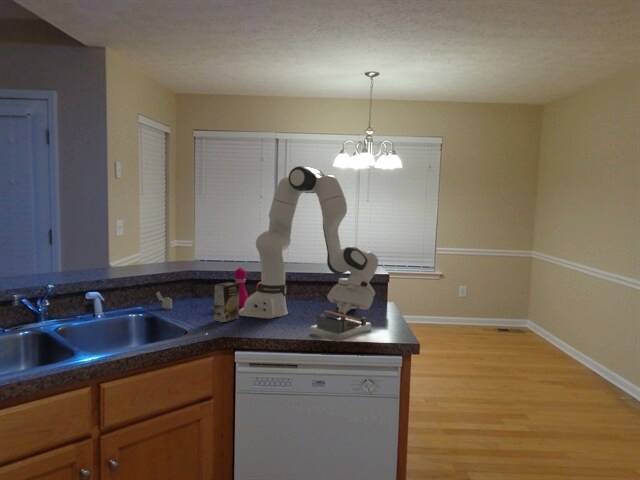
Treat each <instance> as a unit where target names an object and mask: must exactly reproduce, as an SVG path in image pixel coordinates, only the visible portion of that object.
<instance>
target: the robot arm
mask: <svg viewBox="0 0 640 480" xmlns="http://www.w3.org/2000/svg"><path fill="white" fill-rule="evenodd" d="M303 193H305V194H316V196H317V200H318V203H319V205H320V210H321V214H322V215H321V216H322V230H323V236H324V240H325V245H326V246H325V247H326V250H327V257H326V258H327V260H326V264H327V267H328V269H329V271H330V272H331V273H332V274H335V275H343V274H345V273H346V272H350V275H349V276H348V277H347V278H348V280H347V282H346V283H345V284H342V283H339V282H338V283H339V284H338V283H336V284H335V285H334V286H333V287H332V288H331V289H330V291H329V292H328V293H327V299H328V301H329V302H330V303H334V304H337V303H338V304H339V307H338V310H337V313H340V314H346V315H347V313H348V312H350V311H351V310H352V309H351V308H352V307H356V309H361V310H366V311H367V310H369V309H370V308H371V306H372V304H373V301H374V297H375V295H376V292H375V289H374V288H373V286H372V285H371V283H370V281H371V279H372V278H373V277H374V276H375V274H376V272H377V269H378V266H379V259H378V257H377V256H376V254H374V253H373V252H371V251H368V250H367V251H364V250H361V249H359V248H358V247H356V246H354V245H350V246H346V247H344V248H342V247H341V242H340V236H339V228H340V225H341V223H342V221H343V219H344V218H345V217H346V214H347V212H348V207H347V206H348V204H347V201H346V198H345V195H344V191H343V189H342V187H341V184H340V182H339V180H338V179H337V178H336V176H334V175H330V174H327V175H325V174H324V173H323V172H322V170H318V169H316V168H314V167H310V166H309V167H308V166H303V165H302V166H301V165H300V166H295V167H294V168H292V169H291V170H290V172H289V174H288V177H287V176H286V177H282V179H280V180H279V182H278V185H277V187H276V189H275V192H274V194H273V198H272V202H271V206H270V210H269V212H268V216H269V217H268V218H269V225H268V230H266V231H264V232H262V233H260V234H259V235H258V236H257V238H256V240H255V248H256V249H257V252H258V255H259V261H260V267H261V268H260V269H261V270H260V272H261V273H260V275H261V277H260V280H261V281H259V282H258V283H257V284H256V291H255V292H253V293H252V294H251V295H249V296H248V298H247V299H246V301H245V304H244V307H241V308H239V316H241V317H250V318H252V317H253V318H261V319H273V318H279V317H284V316H286V315H288V313H289V312H288V307H287V303H286V295H287V283H286V266H285V263H284V258H283V252H285V251H286V250H287V249H288V248H289V246H290V244H291V236H292V235H291V234H292V226H293V225H292V224H293V221H294V220H293V219H294V216H295V213H296V210H297V205H298V202H299V198H300V196H301V195H302V194H303ZM345 305H347V306H346V307H345V308H344V309H343V307H344V306H345Z"/></svg>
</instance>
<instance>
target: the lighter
mask: <svg viewBox="0 0 640 480" xmlns="http://www.w3.org/2000/svg"><path fill="white" fill-rule="evenodd" d="M155 295H156V297H157V299H158V300H159V302H160V301H161V309H162V308H165V309H164V310H168V309H169V310H172V309H173V300H172V298H171V297H167V296H166V297H164V298H163V296H162V294H161V292H160V291H157V292H156V293H155ZM171 308H172V309H171Z"/></svg>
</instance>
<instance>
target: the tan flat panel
mask: <svg viewBox="0 0 640 480" xmlns="http://www.w3.org/2000/svg"><path fill="white" fill-rule="evenodd" d="M324 312H325V313H328V314H331V315H335V316H339V317H340V318H341V317H344V318H348V319H352V320H355V321H359V322H361V319H362V318H357V317H354V316H350V315H347V314H346V315H344V314H340V313H339V312H335V311H331V310H327V309H325V310H324Z"/></svg>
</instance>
